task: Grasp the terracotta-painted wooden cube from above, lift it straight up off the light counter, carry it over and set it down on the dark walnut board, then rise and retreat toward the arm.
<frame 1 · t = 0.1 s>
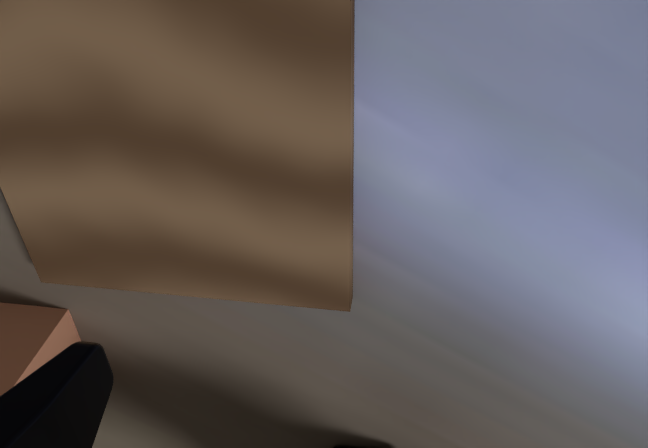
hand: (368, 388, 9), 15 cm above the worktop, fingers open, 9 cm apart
terracotta cube: (37, 339, 35), on the worktop
walnut board: (166, 143, 25), on the worktop
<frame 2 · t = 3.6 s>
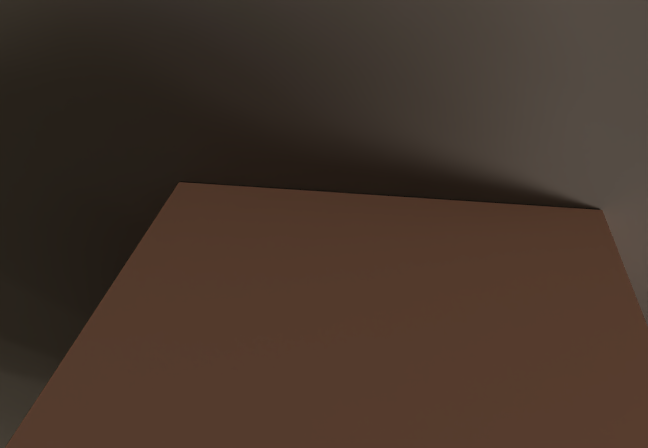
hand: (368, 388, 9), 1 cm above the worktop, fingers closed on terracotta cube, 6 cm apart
terracotta cube: (374, 339, 10), on the worktop, touching gripper
when the fingers open (3 cm above the worktop, at t = 9.1 s): terracotta cube drops 1 cm, resting on walnut board.
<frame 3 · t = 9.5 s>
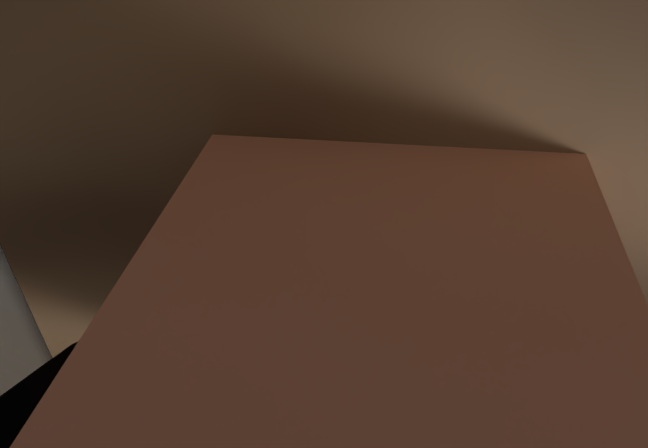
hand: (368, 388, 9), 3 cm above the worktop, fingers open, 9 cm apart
terracotta cube: (384, 281, 11), point 1 cm above the worktop, touching walnut board
walnut board: (383, 248, 12), on the worktop
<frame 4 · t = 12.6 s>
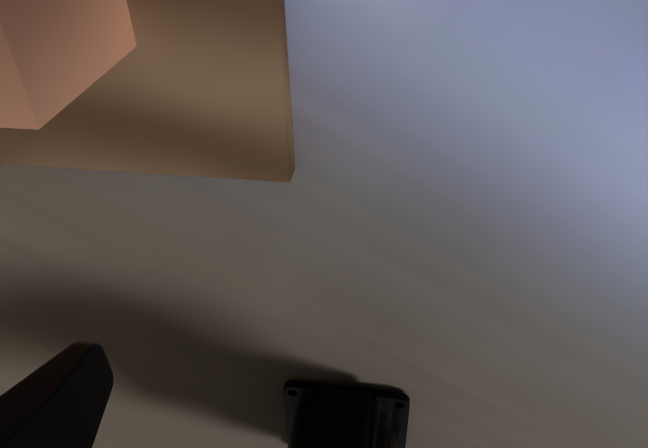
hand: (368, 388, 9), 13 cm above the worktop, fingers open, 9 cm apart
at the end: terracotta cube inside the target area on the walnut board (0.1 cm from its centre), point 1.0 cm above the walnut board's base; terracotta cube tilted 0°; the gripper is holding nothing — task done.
